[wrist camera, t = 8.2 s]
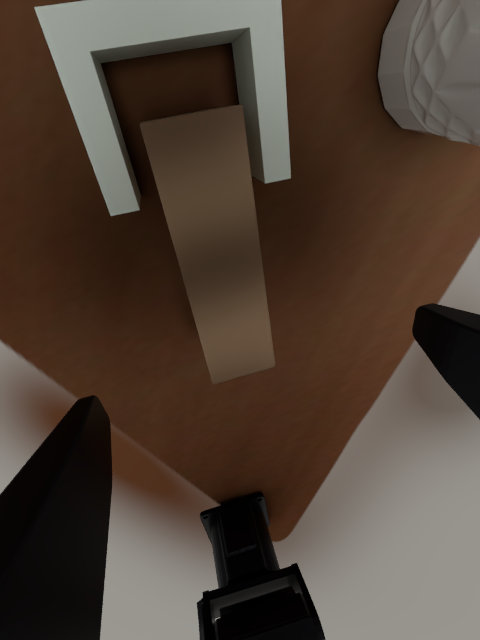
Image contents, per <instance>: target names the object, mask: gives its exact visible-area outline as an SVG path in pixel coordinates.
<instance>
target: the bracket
mask: <svg viewBox="0 0 480 640" xmlns="http://www.w3.org/2000/svg"><path fill="white" fill-rule="evenodd" d="M34 8H35V11H36V14H37V16H38V19H39V22H40V24H41V27H42V30H43V33H44V35H45V38H46V41H47V44H48V46H49V49H50V52H51V55H52V57H53V60H54V63H55V65H56V68H57V71H58V74H59V76H60V79H61V82H62V85H63V87H64V90H65V93H66V95H67V98H68V101H69V104H70V106H71V109H72V112H73V115H74V117H75V120H76V123H77V125H78V128H79V131H80V134H81V136H82V139H83V142H84V145H85V147H86V150H87V153H88V155H89V158H90V161H91V164H92V166H93V169H94V172H95V175H96V177H97V180H98V183H99V185H100V188H101V191H102V194H103V196H104V199H105V202H106V205H107V207H108V210H109V213H110V216H114V215H119V214H123V213H128V212H133V211H138V210H140V200H141V194H140V191H139V188H138V184H137V181H136V178H135V174H134V171H133V168H132V165H131V161H130V158H129V155H128V151H127V148H126V145H125V142H124V138H123V135H122V132H121V128H120V125H119V122H118V119H117V115H116V112H115V109H114V105H113V102H112V99H111V96H110V92H109V89H108V86H107V82H106V79H105V76H104V73H103V69H102V66H101V63H105V62H112V61H118V60H124V59H131V58H137V57H144V56H150V55H156V54H163V53H169V52H176V51H182V50H188V49H195V48H201V47H207V46H214V45H220V44H227V43H232V50H233V58H234V66H235V74H236V82H237V90H238V98H239V105H242V106H243V114H244V122H245V130H246V138H247V146H248V153H249V161H250V169H251V176H253V177H255V178H256V179H258V180H260V181H261V182H263V183H265V184H266V183H271V182H275V181H280V180H285V179H290V178H291V169H290V151H289V133H288V115H287V97H286V79H285V61H284V43H283V25H282V6H281V0H85V1H78V2H70V3H63V4H55V5H48V6H40V7H34Z"/></svg>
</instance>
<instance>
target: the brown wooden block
mask: <svg viewBox="0 0 480 640" xmlns="http://www.w3.org/2000/svg"><path fill="white" fill-rule="evenodd" d="M139 125H140V128H141V132H142V136H143V139H144V143H145V146H146V150H147V153H148V157H149V160H150V164H151V167H152V171H153V175H154V178H155V182H156V185H157V189H158V192H159V196H160V199H161V203H162V206H163V210H164V214H165V217H166V221H167V224H168V228H169V231H170V235H171V238H172V242H173V245H174V249H175V252H176V256H177V260H178V263H179V267H180V270H181V274H182V277H183V281H184V284H185V288H186V291H187V295H188V299H189V302H190V306H191V309H192V313H193V316H194V320H195V323H196V327H197V330H198V334H199V338H200V341H201V345H202V348H203V352H204V355H205V359H206V362H207V366H208V369H209V373H210V376H211V380H212V384H216V383H220V382H223V381H227V380H230V379H234V378H237V377H241V376H244V375H248V374H251V373H255V372H258V371H262V370H265V369H269V368H272V367H275V360H274V352H273V344H272V336H271V328H270V320H269V312H268V304H267V296H266V288H265V280H264V272H263V264H262V256H261V249H260V241H259V233H258V225H257V217H256V209H255V201H254V193H253V185H252V177H251V169H250V161H249V153H248V146H247V138H246V130H245V122H244V114H243V106H242V105H233V106H223V107H215V108H210V109H205V110H200V111H194V112H189V113H184V114H179V115H173V116H168V117H163V118H157V119H152V120H147V121H142V122H141V123H140V124H139Z"/></svg>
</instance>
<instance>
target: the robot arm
mask: <svg viewBox="0 0 480 640" xmlns="http://www.w3.org/2000/svg"><path fill="white" fill-rule="evenodd" d="M412 332H413V336H414V338H415V340H416V341H417V342H418V344H419V345H420V347H421V348H422V349H423V351H424V352H425V353H426V355H427V356H428V357H429V359H430V360H431V362H432V363H433V364H434V366H435V367H436V369H437V370H438V371H439V373H440V374H441V375H442V377H443V378H444V379H445V381H446V382H447V383H448V384H449V385H450V386H451V388H452V389H453V390H454V391H455V392H456V393H457V394H458V396H459V397H460V398H461V399H462V400H463V401H464V402H465V403H466V404H467V406H468V407H469V408H470V409H471V410H472V411H473V412H474V414H475V415H476V416H477V417H478V418H479V419H480V315H478V314H474V313H470V312H466V311H462V310H458V309H454V308H450V307H446V306H442V305H438V304H433V303H432V304H427V305H423V306H420V307H418V308H417V310H416V313H415V318H414V324H413V329H412ZM111 493H112V455H111V429H110V420H109V417H108V415H107V413H106V411H105V409H104V407H103V406H102V404H101V402H100V400H99V399H98V397H96V396H94V395H92V396H88V397H85V398H81V399H79V400H77V401H76V403H75V404H74V405H73V406H72V408H71V409H70V410H69V411H68V412H67V414H66V415H65V416H64V417H63V419H62V420H61V421H60V422H59V423H58V425H57V426H56V427H55V428H54V429H53V431H52V432H51V433H50V434H49V436H48V437H47V438H46V439H45V440H44V442H43V443H42V444H41V446H40V447H39V448H38V449H37V450H36V452H35V453H34V454H33V455H32V456H31V458H30V459H29V460H28V461H27V462H26V464H25V465H24V466H23V467H22V469H21V470H20V471H19V472H18V473H17V475H16V476H15V477H14V478H13V480H12V481H11V482H10V484H9V485H8V486H7V487H6V488H5V489H4V491H3V492H2V493H1V494H0V640H100V629H101V617H102V605H103V592H104V579H105V568H106V555H107V543H108V530H109V518H110V506H111V505H110V504H111ZM200 518H201V521H202V523H203V526H204V528H205V530H206V532H207V535H208V537H209V539H210V541H211V544H212V547H213V554H214V560H215V567H216V574H217V580H218V587H219V589H216V590H212V591H205V592H203V598H202V599H201V600H200V601H199V602H197V609H198V619H199V632H200V640H325V636H324V633H323V629H322V626H321V622H320V620H319V617H318V614H317V611H316V609H315V606H314V604H313V601H312V599H311V597H310V594H309V592H308V589H307V587H306V584H305V582H304V579H303V577H302V574H301V572H300V569H299V567H298V565H297V563H295V564H292V565H291V566H290V567H287V568H283V569H280V568H279V565H278V561H277V557H276V554H275V551H274V547H273V544H272V540H271V537H270V533H269V530H268V527H269V526H270V523H269V518H268V513H267V508H266V503H265V498H264V495H263V493H258V494H255V495H252V496H248V497H245V498H242V499H239V500H236V501H233V502H230V503H227V504H224V505H221V506H218V507H215V508H211V509H208V510H205V511H203V512H201V513H200ZM218 617H221V618H219V619H217V620H216V622H215V618H218Z"/></svg>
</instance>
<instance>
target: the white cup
mask: <svg viewBox="0 0 480 640" xmlns="http://www.w3.org/2000/svg"><path fill="white" fill-rule="evenodd" d="M378 80H379V85H380V90H381V94H382V99H383V104H384V108H385V109H386V110H387V112H388V113H389V114H390V115H391V116H392V118H393V119H394V120H395V121H396V122H397V124H398V125H399V126H400V127H401V128H403V129H407V130H412V131H416V132H420V133H425V134H432V135H439V136H443V137H445V138H446V139H448V140H452V141H459V142H465V143H469V144H472V145H478V146H480V0H399V2H398V4H397V6H396V8H395V10H394V12H393V15H392V17H391V19H390V21H389V23H388V25H387V27H386V30H385V32H384V34H383V39H382V47H381V54H380V61H379V68H378Z"/></svg>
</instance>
